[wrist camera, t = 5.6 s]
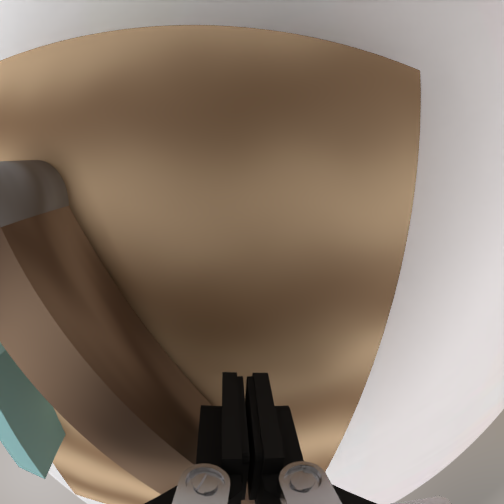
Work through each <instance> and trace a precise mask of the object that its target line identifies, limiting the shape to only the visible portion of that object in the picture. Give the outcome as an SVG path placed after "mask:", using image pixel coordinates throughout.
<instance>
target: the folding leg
mask: <svg viewBox="0 0 504 504" xmlns="http://www.w3.org/2000/svg"><path fill="white" fill-rule="evenodd" d="M0 342H1V344H2V345H3V347H4V348H5V350H6V351H7V352H8V354H9V355H10V356H11V358H12V359H13V360H14V362H15V363H16V364H17V366H18V367H19V368H20V370H21V371H22V372H23V373H24V375H25V376H26V377H27V378H28V379H29V381H30V382H31V383H32V384H33V385H34V387H35V388H36V389H37V390H38V391H39V392H40V393H41V394H42V396H43V397H44V398H45V399H46V400H47V401H48V402H49V403H50V404H51V405H52V406H53V407H54V409H55V410H56V411H57V412H58V413H59V414H60V415H61V416H62V417H63V418H64V419H65V420H66V421H67V422H68V423H69V424H71V425H72V426H73V427H74V428H75V429H76V430H77V431H78V432H79V433H80V434H81V435H82V436H83V437H85V438H86V439H87V440H88V441H89V442H90V443H91V444H93V445H94V446H95V447H96V448H97V449H99V450H100V451H101V452H102V453H103V454H105V455H106V456H107V457H108V458H110V459H111V460H112V461H113V462H115V463H116V464H117V465H119V466H120V467H121V468H123V469H124V470H125V471H127V472H128V473H130V474H131V475H132V476H134V477H135V478H137V479H138V480H140V481H141V482H143V483H144V484H146V485H147V486H149V487H150V488H152V489H153V490H155V491H156V492H158V493H160V494H163V493H165V492H166V491H168V490H170V489H172V488H173V487H175V486H177V485H178V483H179V479H180V477H181V475H182V473H183V471H184V470H186V469H187V468H188V467H190V466H192V465H195V464H196V455H197V442H198V430H199V419H200V408H201V405H209V406H212V405H211V404H210V403H209V402H208V401H207V400H206V399H205V398H204V396H203V395H202V394H201V393H200V392H199V391H198V390H197V389H196V388H195V386H194V385H193V384H192V383H191V382H190V381H189V380H188V378H187V377H186V376H185V375H184V374H183V373H182V371H181V370H180V369H179V368H178V367H177V366H176V364H175V363H174V362H173V361H172V359H171V358H170V357H169V356H168V355H167V353H166V352H165V351H164V350H163V348H162V347H161V346H160V345H159V343H158V342H157V341H156V339H155V338H154V337H153V336H152V334H151V333H150V332H149V330H148V329H147V328H146V326H145V325H144V324H143V322H142V321H141V320H140V318H139V317H138V315H137V314H136V313H135V311H134V310H133V309H132V307H131V306H130V304H129V303H128V301H127V300H126V299H125V297H124V296H123V294H122V293H121V291H120V290H119V288H118V287H117V285H116V284H115V282H114V281H113V279H112V278H111V276H110V275H109V273H108V272H107V270H106V269H105V267H104V265H103V264H102V262H101V261H100V259H99V257H98V256H97V254H96V253H95V251H94V249H93V248H92V246H91V244H90V243H89V241H88V239H87V237H86V236H85V234H84V232H83V230H82V229H81V227H80V225H79V223H78V222H77V220H76V218H75V216H74V214H73V212H72V211H71V209H70V207H69V199H68V193H67V189H66V186H65V183H64V181H63V178H62V177H61V175H60V173H59V172H58V171H57V170H56V169H55V168H54V167H53V166H52V165H51V164H49V163H47V162H45V161H42V160H20V161H0ZM241 504H255V500H249V496H248V484H247V487H246V495H245V500H241Z"/></svg>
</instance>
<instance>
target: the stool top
mask: <svg viewBox="0 0 504 504" xmlns="http://www.w3.org/2000/svg"><path fill="white" fill-rule="evenodd" d="M420 106H421V87H420V70H417V69H415V68H412V67H410V66H407V65H405V64H402V63H399V62H397V61H394V60H391V59H388V58H386V57H383V56H380V55H377V54H374V53H371V52H367V51H364V50H361V49H357V48H354V47H350V46H347V45H343V44H339V43H335V42H331V41H327V40H322V39H318V38H313V37H308V36H303V35H298V34H292V33H286V32H279V31H272V30H265V29H256V28H246V27H233V26H214V25H172V26H154V27H141V28H131V29H123V30H116V31H109V32H103V33H97V34H91V35H86V36H81V37H76V38H72V39H68V40H64V41H60V42H56V43H52V44H48V45H45V46H41V47H38V48H35V49H32V50H29V51H26V52H23V53H20V54H17V55H14V56H11V57H9V58H6V59H3V60H1V61H0V161H20V160H42V161H45V162H47V163H49V164H51V165H52V166H53V167H54V168H55V169H56V170H57V171H58V172H59V173H60V175H61V177H62V178H63V181H64V183H65V186H66V189H67V193H68V199H69V207H70V209H71V211H72V212H73V214H74V216H75V218H76V220H77V222H78V223H79V225H80V227H81V229H82V230H83V232H84V234H85V236H86V237H87V239H88V241H89V243H90V244H91V246H92V248H93V249H94V251H95V253H96V254H97V256H98V257H99V259H100V261H101V262H102V264H103V265H104V267H105V269H106V270H107V272H108V273H109V275H110V276H111V278H112V279H113V281H114V282H115V284H116V285H117V287H118V288H119V290H120V291H121V293H122V294H123V296H124V297H125V299H126V300H127V301H128V303H129V304H130V306H131V307H132V309H133V310H134V311H135V313H136V314H137V315H138V317H139V318H140V320H141V321H142V322H143V324H144V325H145V326H146V328H147V329H148V330H149V332H150V333H151V334H152V336H153V337H154V338H155V339H156V341H157V342H158V343H159V345H160V346H161V347H162V348H163V350H164V351H165V352H166V353H167V355H168V356H169V357H170V358H171V359H172V361H173V362H174V363H175V364H176V366H177V367H178V368H179V369H180V370H181V371H182V373H183V374H184V375H185V376H186V377H187V378H188V380H189V381H190V382H191V383H192V384H193V385H194V386H195V388H196V389H197V390H198V391H199V392H200V393H201V394H202V395H203V396H204V398H205V399H206V400H207V401H208V402H209V403H210V404H211V405H212V406H222V372H237V376H243V382H244V395H245V393H246V380H247V376H252V374H253V373H268V375H269V380H270V385H271V390H272V395H273V400H274V405H275V406H287V405H288V406H289V407H290V410H291V414H292V418H293V421H294V425H295V429H296V433H297V437H298V441H299V444H300V448H301V452H302V456H303V460H304V461H306V462H311V463H314V464H317V465H318V466H319V467H321V468H322V469H323V470H324V472H325V471H326V469H327V467H328V466H329V464H330V462H331V460H332V458H333V456H334V454H335V452H336V450H337V448H338V446H339V444H340V442H341V440H342V438H343V436H344V434H345V431H346V429H347V427H348V425H349V423H350V420H351V418H352V416H353V414H354V411H355V409H356V407H357V404H358V402H359V399H360V397H361V394H362V392H363V389H364V387H365V384H366V382H367V379H368V376H369V374H370V371H371V368H372V366H373V363H374V360H375V357H376V354H377V351H378V348H379V345H380V342H381V339H382V336H383V333H384V329H385V326H386V323H387V319H388V316H389V313H390V309H391V305H392V302H393V298H394V294H395V290H396V286H397V282H398V278H399V274H400V269H401V265H402V260H403V256H404V251H405V246H406V241H407V235H408V230H409V224H410V218H411V212H412V205H413V198H414V190H415V182H416V173H417V163H418V151H419V135H420ZM54 410H55V409H54ZM55 412H56V414H57V417H58V419H59V421H60V423H61V425H62V428H63V430H64V432H65V434H66V435H65V437H64V439H63V441H62V443H61V445H60V447H59V449H58V451H57V453H56V456H55V458H54V460H53V464H54V465H55V467H56V468H57V470H58V471H59V472H60V474H61V475H62V477H63V478H64V480H65V481H66V482H67V484H68V485H69V486H70V488H71V489H72V490H73V492H74V493H75V494H77V495H80V496H83V497H86V498H89V499H92V500H95V501H99V502H102V503H106V504H144V503H146V502H148V501H150V500H152V499H154V498H156V497H158V496H159V495H161V494H160V493H158V492H156V491H155V490H153V489H152V488H150V487H149V486H147V485H146V484H144V483H143V482H141V481H140V480H138V479H137V478H135V477H134V476H132V475H131V474H130V473H128V472H127V471H125V470H124V469H123V468H121V467H120V466H119V465H117V464H116V463H115V462H113V461H112V460H111V459H110V458H108V457H107V456H106V455H105V454H103V453H102V452H101V451H100V450H99V449H97V448H96V447H95V446H94V445H93V444H91V443H90V442H89V441H88V440H87V439H86V438H85V437H83V436H82V435H81V434H80V433H79V432H78V431H77V430H76V429H75V428H74V427H73V426H72V425H71V424H69V423H68V422H67V421H66V420H65V419H64V418H63V417H62V416H61V415H60V414H59V413H58V412H57V411H56V410H55Z"/></svg>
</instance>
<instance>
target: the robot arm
mask: <svg viewBox="0 0 504 504" xmlns="http://www.w3.org/2000/svg"><path fill="white" fill-rule="evenodd" d="M247 484H248V496H249V500H255V504H376V503H374V502H371V501H369V500H366V499H364V498H361V497H359V496H357V495H354V494H352V493H350V492H347V491H345V490H343V489H341V488H338V487H336V486H334V485H332V484H331V482H330V480H329V479H328V477H327V475H326V473H325V472H324V470H323V469H322V468H321V467H319V466H318V465H317V464H314V463H311V462H306V461H304V460H303V456H302V452H301V448H300V444H299V441H298V437H297V433H296V429H295V425H294V421H293V418H292V414H291V410H290V407H289V406H288V405H287V406H275V405H274V400H273V395H272V390H271V385H270V380H269V375H268V373H253V374H252V376H247V380H246V393H245V395H244V382H243V376H237V372H222V406H209V405H201V408H200V419H199V430H198V442H197V455H196V464H195V465H192V466H190V467H188V468H187V469H186V470H184V471H183V473H182V475H181V477H180V479H179V483H178V485H177V486H175V487H173V488H172V489H170V490H168V491H166V492H165V493H163V494H161V495H159V496H158V497H156V498H154V499H152V500H150V501H148V502H146V503H144V504H241V500H245V495H246V487H247ZM392 504H451V502H450V501H449V500H448V499H447V498H445V497H442V496H434V497H430V498H425V499H419V500H413V501H407V502H400V503H392Z"/></svg>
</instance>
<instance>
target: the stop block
mask: <svg viewBox="0 0 504 504" xmlns="http://www.w3.org/2000/svg"><path fill="white" fill-rule="evenodd" d="M65 435H66V434H65V432H64V430H63V428H62V425H61V423H60V421H59V419H58V417H57V414H56V412H55V410H54V407H53V406H52V405H51V404H50V403H49V402H48V401H47V400H46V399H45V398H44V397H43V396H42V394H41V393H40V392H39V391H38V390H37V389H36V388H35V387H34V385H33V384H32V383H31V382H30V381H29V379H28V378H27V377H26V376H25V375H24V373H23V372H22V371H21V370H20V368H19V367H18V366H17V364H16V363H15V362H14V360H13V359H12V358H11V356H10V355H9V354H8V352H7V351H6V350H5V348H4V347H3V345H2V344H1V342H0V441H1V442H2V444H3V445H4V447H5V448H6V450H7V451H8V453H9V454H10V455H11V457H12V458H13V459H14V461H15V462H16V464H17V465H18V466H19V467H20V468H22V469H24V470H26V471H28V472H31V473H33V474H35V475H37V476H39V477H42V478H44V479H45V478H46V476H47V473H48V471H49V469H50V467H51V464H52V462H53V460H54V458H55V456H56V453H57V451H58V449H59V447H60V445H61V443H62V441H63V439H64V437H65Z"/></svg>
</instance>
